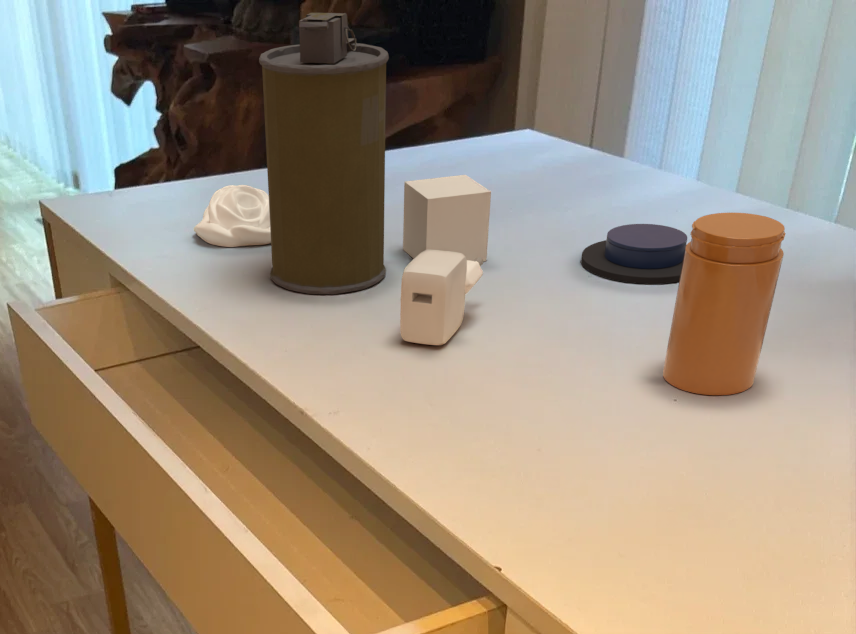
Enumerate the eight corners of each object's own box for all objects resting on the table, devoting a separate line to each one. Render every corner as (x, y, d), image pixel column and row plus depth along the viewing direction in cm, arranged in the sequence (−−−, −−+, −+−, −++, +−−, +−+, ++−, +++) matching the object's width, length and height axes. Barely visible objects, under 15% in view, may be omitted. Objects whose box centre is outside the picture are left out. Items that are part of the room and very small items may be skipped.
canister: (366, 299, 96) (367, 28, 83) (253, 289, 98) (236, 24, 86) (400, 259, 103) (406, 5, 91) (294, 250, 106) (285, 3, 93)
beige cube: (425, 269, 101) (427, 198, 97) (402, 249, 106) (403, 181, 102) (486, 261, 103) (491, 191, 99) (461, 241, 107) (465, 174, 103)
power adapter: (435, 296, 96) (438, 224, 92) (490, 302, 94) (495, 230, 91) (391, 343, 88) (392, 267, 84) (449, 351, 87) (454, 274, 83)
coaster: (699, 245, 104) (700, 238, 104) (712, 285, 96) (714, 278, 96) (579, 242, 106) (580, 236, 105) (582, 282, 98) (583, 275, 97)
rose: (236, 167, 113) (312, 180, 108) (239, 213, 116) (313, 228, 111) (168, 190, 107) (246, 206, 102) (173, 239, 110) (249, 256, 105)
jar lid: (600, 243, 104) (603, 223, 102) (676, 243, 103) (680, 223, 102) (608, 269, 98) (611, 248, 97) (689, 269, 98) (693, 248, 96)
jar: (746, 361, 84) (780, 211, 77) (760, 397, 79) (797, 241, 72) (659, 358, 85) (685, 210, 78) (666, 393, 80) (695, 239, 73)
